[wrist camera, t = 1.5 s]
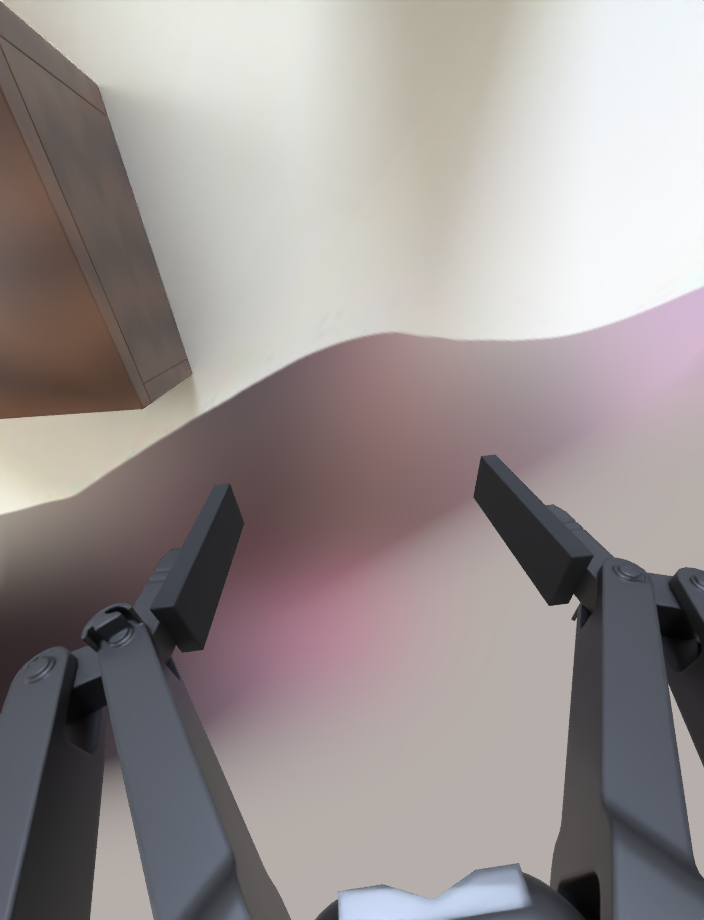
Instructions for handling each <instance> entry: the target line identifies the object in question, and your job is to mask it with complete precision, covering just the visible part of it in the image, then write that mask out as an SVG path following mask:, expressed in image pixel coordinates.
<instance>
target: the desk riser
mask: <svg viewBox="0 0 704 920" xmlns="http://www.w3.org/2000/svg"><path fill="white" fill-rule="evenodd" d="M191 374H192V371H191V368H190V365H189V362H188V359H187V356H186V353H185V350H184V347H183V344H182V341H181V338H180V335H179V332H178V329H177V326H176V323H175V320H174V317H173V314H172V311H171V308H170V305H169V302H168V299H167V296H166V293H165V290H164V286H163V283H162V280H161V277H160V274H159V271H158V268H157V265H156V262H155V259H154V256H153V253H152V250H151V247H150V244H149V241H148V238H147V235H146V232H145V229H144V226H143V223H142V220H141V216H140V213H139V210H138V207H137V204H136V201H135V198H134V195H133V192H132V189H131V186H130V183H129V180H128V177H127V174H126V171H125V168H124V165H123V162H122V159H121V156H120V153H119V150H118V146H117V143H116V140H115V137H114V134H113V131H112V128H111V125H110V122H109V119H108V117H107V113H106V110H105V107H104V104H103V101H102V98H101V95H100V92H99V89H98V86H97V84H96V83H94V82H93V81H92V80H91V79H90V78H89V77H88V76H86V75H85V74H84V73H83V72H82V71H81V70H79V69H78V68H77V67H76V66H75V65H74V64H73V63H71V62H70V61H69V60H68V59H67V58H66V57H64V56H63V55H62V54H61V53H60V52H59V51H57V50H56V49H55V48H54V47H53V46H52V45H51V44H49V43H48V42H47V41H46V40H45V39H44V38H42V37H41V36H40V35H39V34H38V33H37V32H35V31H34V30H33V29H32V28H31V27H30V26H29V25H27V24H26V23H25V22H24V21H23V20H22V19H20V18H19V17H18V16H17V15H16V14H15V13H13V12H12V11H11V10H10V9H9V8H8V7H7V6H5V5H4V4H3V3H2V2H1V1H0V419H6V418H20V417H34V416H49V415H63V414H77V413H92V412H106V411H120V410H134V409H143V408H145V407H146V406H148V405H149V404H150V403H152V402H154V401H155V400H156V399H158V398H159V397H161V396H162V395H163V394H165V393H166V392H168V391H169V390H170V389H172V388H173V387H175V386H176V385H177V384H179V383H180V382H182V381H183V380H184V379H186V378H187V377H188V376H190V375H191Z"/></svg>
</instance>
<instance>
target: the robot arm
mask: <svg viewBox="0 0 704 920" xmlns="http://www.w3.org/2000/svg"><path fill="white" fill-rule="evenodd" d="M474 498H475V500H476V501H477V503H478V504H479V506H480V507H481V509H482V510H483V511H484V513H485V514H486V516H487V517H488V519H489V520H490V522H491V523H492V525H493V526H494V527H495V529H496V530H497V532H498V533H499V535H500V536H501V538H502V539H503V540H504V542H505V543H506V545H507V546H508V548H509V549H510V550H511V552H512V553H513V555H514V556H515V557H516V559H517V561H518V562H519V563H520V565H521V566H522V568H523V569H524V571H525V572H526V574H527V575H528V576H529V578H530V579H531V581H532V582H533V583H534V585H535V586H536V588H537V589H538V591H539V592H540V594H541V595H542V597H543V598H544V599H545V601H546V602H547V603H548V605H549V606H552V605H560V604H568V603H569V601H570V600H571V598H572V595H573V594H574V595H575V596H576V597H577V598H578V600H579V601H580V604H579V606H578V608H577V609H576V611H575V613H574V615H573V617H572V620H574V621H575V620H576V618H577V628H576V640H575V653H574V666H573V679H572V692H571V706H570V719H569V731H568V732H569V733H568V745H567V757H566V771H565V784H564V797H563V810H562V821H561V828H560V832H559V836H558V838H557V841H556V844H555V849H554V853H553V860H552V868H551V880H550V886H548V885H547V884H545V883H544V882H542V881H541V880H539V879H537V878H535V877H533V876H531V875H529V874H526V873H523V872H522V871H521V868H520V865H519V863H517V864H511V865H505V866H498V867H491V868H485V869H479V870H475V871H473V872H472V873H470V874H469V875H468V876H466V877H465V878H463V879H462V880H461V881H459V882H458V883H456V884H455V885H453V886H452V887H451V888H450V889H448V890H446V891H445V892H444V893H442V894H441V895H439V896H438V897H436V898H433V899H430V898H426V897H423V896H419V895H416V894H413V893H410V892H406V891H403V890H400V889H396V888H393V887H390V886H386V885H377V886H370V887H364V888H357V889H351V890H345V891H338V899H337V900H336V901H334V902H333V903H331V904H330V905H329V906H328V907H327V908H326V909H325V910H323V911H322V912H321V913H320V914H319V916H318V917H317V918H316V919H315V920H704V878H703V877H702V876H701V875H700V873H699V871H698V869H697V867H696V865H695V860H694V856H693V851H692V843H691V837H690V830H689V823H688V816H687V810H686V803H685V796H684V789H683V783H682V776H681V769H680V762H679V755H678V749H677V742H676V735H675V728H674V722H673V715H672V708H671V701H670V695H669V688H668V684H669V686H670V688H671V691H672V693H673V695H674V698H675V700H676V702H677V705H678V707H679V710H680V712H681V714H682V717H683V719H684V722H685V724H686V726H687V729H688V731H689V733H690V736H691V738H692V740H693V743H694V745H695V748H696V750H697V752H698V755H699V757H700V759H701V761H702V764H703V766H704V571H702V570H699V569H695V568H687V567H685V568H681V569H679V570H678V571H677V572H676V574H675V575H674V576H667V575H660V574H653V573H647V572H645V570H644V569H642V568H641V567H639V566H638V565H636V564H634V563H632V562H630V561H627V560H624V559H620V558H614V557H613V556H612V555H611V554H610V553H609V552H608V551H607V550H606V549H605V548H604V547H602V545H600V544H599V543H598V542H597V541H596V540H595V539H594V538H593V537H592V536H591V535H590V534H589V533H588V532H587V531H586V530H583V528H582V526H581V525H579V524H578V523H576V522H575V520H574V519H573V518H572V517H571V516H570V515H569V514H568V513H567V512H566V511H564V510H562V509H560V508H559V507H557V506H555V505H544V504H543V503H542V501H541V500H539V499H538V497H537V496H536V495H534V493H533V492H532V491H531V490H530V489H528V487H527V486H526V485H525V484H524V483H523V482H522V481H521V480H520V479H519V478H518V477H517V476H516V475H515V474H514V473H513V472H512V471H511V470H510V469H509V468H508V467H507V466H506V465H505V464H504V463H503V462H502V461H501V460H500V459H499V458H498V457H497V456H496V455H489V456H481V460H480V465H479V470H478V475H477V481H476V486H475V492H474ZM243 525H244V521H243V518H242V516H241V513H240V510H239V507H238V505H237V502H236V499H235V497H234V494H233V491H232V488H231V485H230V484H222V485H215V486H214V488H213V489H212V491H211V493H210V495H209V497H208V499H207V501H206V503H205V505H204V506H203V508H202V510H201V512H200V514H199V516H198V518H197V520H196V522H195V524H194V525H193V527H192V529H191V531H190V533H189V535H188V537H187V539H186V541H185V543H184V544H183V546H182V548H177V549H171V550H170V551H169V552H168V553H167V554H166V555H165V556H164V557H162V559H160V561H159V563H158V565H157V566H156V568H155V570H154V573H152V575H151V576H150V578H149V582H147V583H146V585H145V587H144V589H143V590H142V592H141V594H140V596H139V597H138V599H137V601H136V602H135V604H134V606H133V607H132V606H131V605H130V604H129V603H124V602H120V603H115V604H112V605H110V606H108V607H106V608H104V609H102V610H101V611H100V612H98V613H97V614H96V615H94V616H93V618H92V619H91V620H90V621H89V622H88V623H87V624H86V626H85V628H84V629H83V631H82V638H81V639H82V640H83V641H84V642H86V643H87V644H88V646H85V647H83V648H80V649H78V650H75V651H73V652H69V651H68V650H67V649H66V648H64V647H60V646H58V647H57V646H56V647H53V648H50V649H47V650H45V651H43V652H42V653H40V654H38V655H36V656H35V657H34V658H32V659H31V660H30V661H29V662H27V663H26V664H25V665H24V666H23V667H22V669H21V670H20V671H19V672H18V673H17V674H16V676H15V678H14V680H13V681H12V683H11V686H10V689H9V692H8V694H7V697H6V700H5V703H4V706H3V709H2V711H1V714H0V920H90V912H91V902H92V891H93V880H94V869H95V859H96V848H97V836H98V826H99V816H100V805H101V794H102V783H103V772H104V762H105V750H106V740H107V729H108V719H109V714H110V718H111V723H112V728H113V732H114V737H115V741H116V746H117V751H118V755H119V760H120V765H121V770H122V774H123V778H124V783H125V788H126V792H127V797H128V802H129V807H130V811H131V816H132V820H133V825H134V830H135V834H136V839H137V844H138V848H139V853H140V858H141V862H142V867H143V871H144V876H145V881H146V885H147V890H148V895H149V899H150V904H151V909H152V913H153V918H154V920H291V918H290V916H289V914H288V911H287V909H286V907H285V905H284V903H283V901H282V898H281V896H280V895H279V893H278V891H277V889H276V887H275V885H274V884H273V882H272V881H271V879H270V878H269V876H268V874H267V872H266V870H265V868H264V866H263V864H262V861H261V859H260V857H259V854H258V852H257V850H256V848H255V845H254V843H253V841H252V838H251V836H250V833H249V831H248V829H247V827H246V824H245V822H244V820H243V817H242V815H241V813H240V810H239V808H238V806H237V803H236V801H235V799H234V796H233V794H232V792H231V790H230V787H229V785H228V783H227V780H226V778H225V776H224V773H223V771H222V769H221V766H220V764H219V762H218V759H217V757H216V755H215V753H214V750H213V748H212V746H211V744H210V741H209V739H208V737H207V734H206V732H205V729H204V727H203V725H202V722H201V720H200V718H199V716H198V713H197V711H196V709H195V706H194V704H193V702H192V699H191V697H190V695H189V692H188V690H187V688H186V685H185V683H184V681H183V679H182V676H181V674H180V672H179V669H178V667H177V665H176V662H175V660H174V659H173V657H172V653H173V651H174V648H175V646H176V645H177V646H178V648H179V649H180V650H181V652H190V651H197V650H203V649H204V646H205V643H206V640H207V636H208V633H209V630H210V627H211V624H212V621H213V618H214V615H215V611H216V608H217V606H218V603H219V599H220V596H221V593H222V590H223V587H224V584H225V581H226V578H227V575H228V572H229V569H230V565H231V562H232V559H233V556H234V553H235V550H236V547H237V544H238V541H239V538H240V535H241V531H242V528H243Z"/></svg>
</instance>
